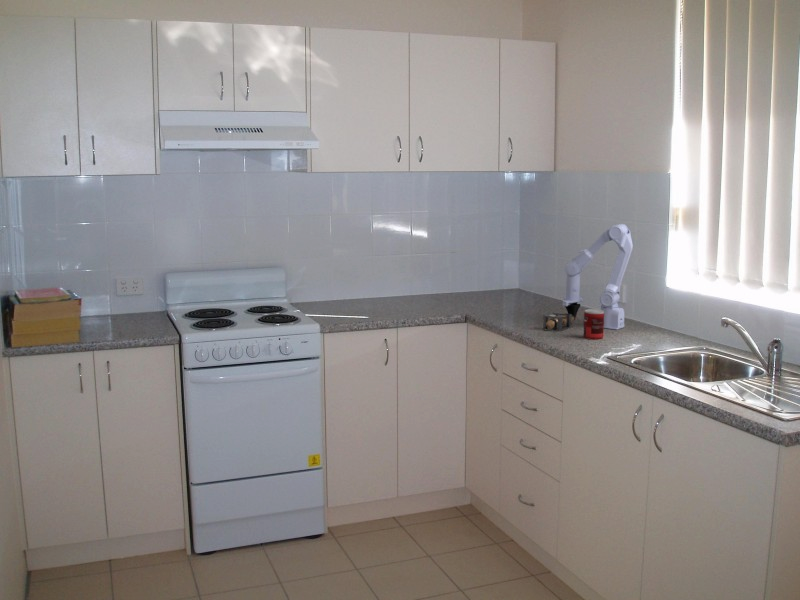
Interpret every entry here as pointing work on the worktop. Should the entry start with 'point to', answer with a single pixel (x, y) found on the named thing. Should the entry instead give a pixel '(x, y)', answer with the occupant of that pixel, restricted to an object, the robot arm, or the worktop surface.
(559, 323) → the firebox
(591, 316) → the canned food
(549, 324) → the tube
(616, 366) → the worktop surface
